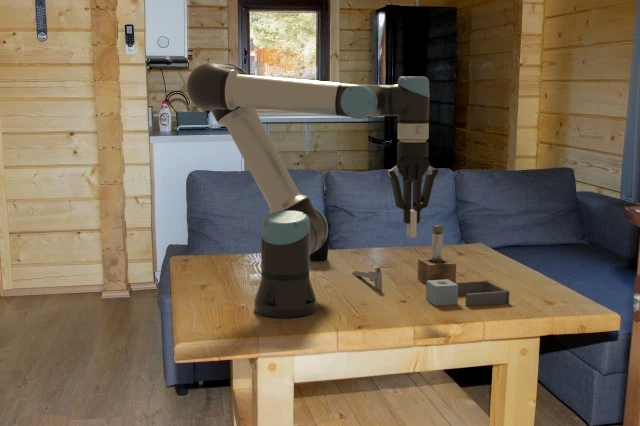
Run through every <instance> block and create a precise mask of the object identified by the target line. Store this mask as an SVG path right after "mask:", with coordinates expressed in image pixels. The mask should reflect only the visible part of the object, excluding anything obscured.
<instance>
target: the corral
mask: <svg viewBox="0 0 640 426" xmlns="http://www.w3.org/2000/svg"><path fill="white" fill-rule="evenodd" d="M455 284H457V285H458V295H465V307H474V306H475V307H476V306H489V305H500V304H502V305H503V304H504V305H505V304H509V303H510V291H509V290H508V289H505V288H504V287H501V286H500V285H498V284H495V283H493V282H491V281H489V280H488V279H487V280H475V281H474V280H473V281H461V282H460V281H459V282H457V281H456V283H455Z"/></svg>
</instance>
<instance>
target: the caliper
mask: <svg viewBox="0 0 640 426" xmlns="http://www.w3.org/2000/svg"><path fill="white" fill-rule="evenodd" d="M352 274H353V275H354V276H355V277H362V278H369V282H373V283H374V289H375V290H377V291H378V292H380V291H382V290H383V277H382V275H383V274H382V271H381V267H376V268H374V270H368V271H363V270H353V271H352Z"/></svg>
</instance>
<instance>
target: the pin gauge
mask: <svg viewBox="0 0 640 426" xmlns="http://www.w3.org/2000/svg"><path fill="white" fill-rule="evenodd" d="M443 245H444V225H441V224H433V225H432V226H431V258H432V259H431V263H442V257H443V253H444V251H443V249H444V246H443Z"/></svg>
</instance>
